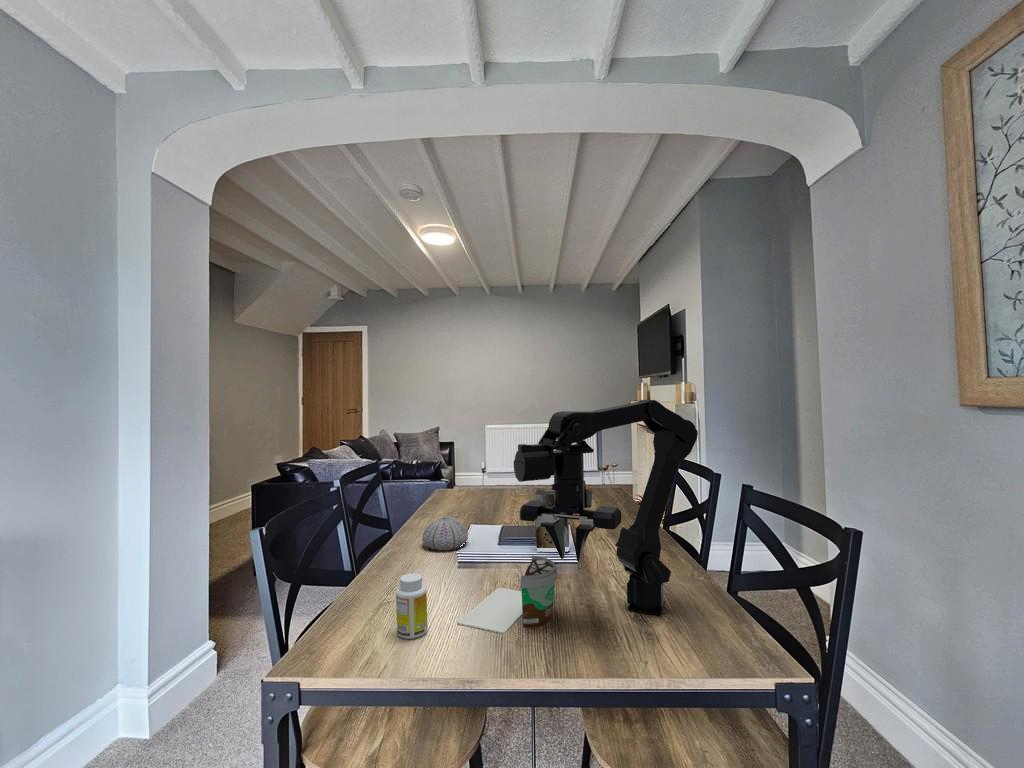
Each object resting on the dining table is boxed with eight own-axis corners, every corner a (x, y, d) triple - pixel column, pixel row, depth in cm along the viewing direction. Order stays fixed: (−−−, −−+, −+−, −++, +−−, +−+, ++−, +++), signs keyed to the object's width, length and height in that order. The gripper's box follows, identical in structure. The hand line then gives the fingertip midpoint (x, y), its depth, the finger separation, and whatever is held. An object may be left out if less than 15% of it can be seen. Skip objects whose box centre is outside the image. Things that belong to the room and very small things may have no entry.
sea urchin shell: (452, 536, 152) (452, 510, 152) (477, 546, 141) (477, 518, 141) (413, 545, 143) (413, 517, 143) (437, 557, 133) (436, 527, 133)
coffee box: (569, 546, 139) (568, 489, 140) (569, 553, 133) (567, 493, 133) (537, 545, 141) (536, 488, 141) (535, 552, 134) (534, 493, 134)
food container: (554, 634, 90) (553, 578, 90) (521, 631, 91) (520, 576, 91) (562, 604, 102) (561, 556, 102) (533, 602, 103) (532, 554, 103)
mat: (540, 595, 106) (540, 594, 106) (504, 634, 90) (504, 632, 90) (498, 588, 110) (498, 587, 110) (456, 624, 94) (456, 622, 94)
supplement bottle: (428, 624, 94) (427, 570, 94) (426, 639, 89) (425, 582, 89) (398, 626, 94) (397, 572, 94) (394, 641, 88) (393, 584, 88)
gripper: (626, 473, 98) (628, 552, 97) (538, 468, 105) (540, 541, 105) (613, 483, 88) (615, 571, 87) (517, 477, 95) (519, 558, 95)
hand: (570, 559), depth 94 cm, fingers open, 3 cm apart
